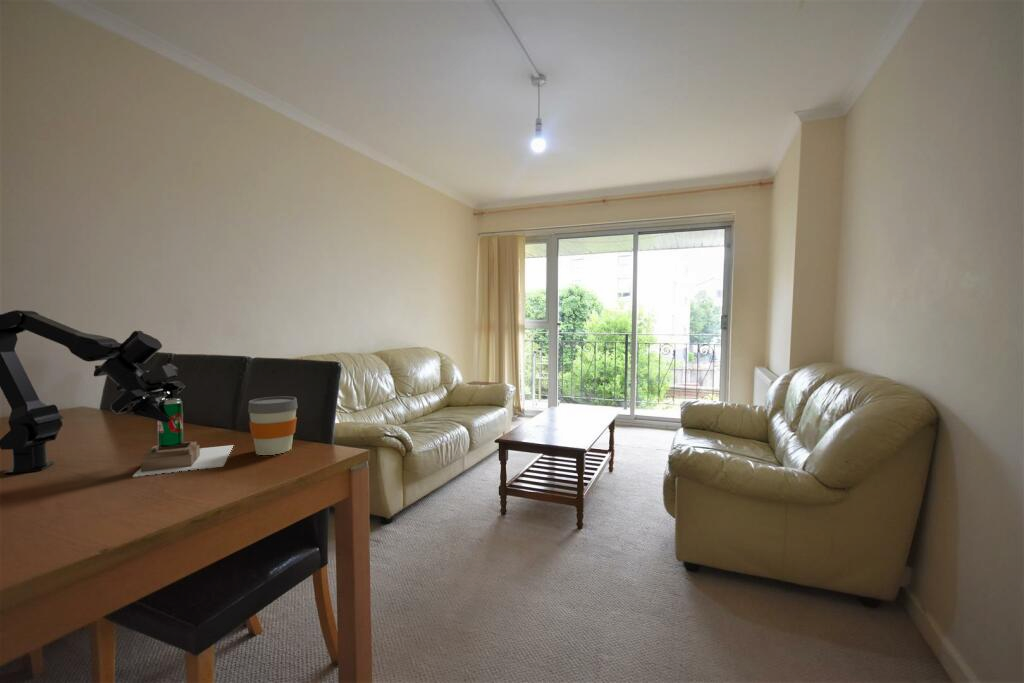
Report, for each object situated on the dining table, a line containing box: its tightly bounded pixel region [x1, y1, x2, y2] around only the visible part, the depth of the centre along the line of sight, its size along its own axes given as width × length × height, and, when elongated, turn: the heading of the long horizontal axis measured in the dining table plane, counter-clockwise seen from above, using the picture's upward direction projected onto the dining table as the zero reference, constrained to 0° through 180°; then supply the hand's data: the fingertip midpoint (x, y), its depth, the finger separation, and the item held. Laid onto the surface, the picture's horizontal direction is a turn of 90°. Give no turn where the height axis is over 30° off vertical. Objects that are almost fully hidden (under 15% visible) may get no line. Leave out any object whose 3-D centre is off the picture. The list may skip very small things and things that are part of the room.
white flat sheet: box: [132, 444, 235, 478], centre depth 114 cm, size 20×18×1 cm
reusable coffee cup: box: [247, 395, 298, 456], centre depth 122 cm, size 13×13×15 cm
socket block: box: [140, 440, 201, 472], centre depth 110 cm, size 10×10×5 cm
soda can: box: [157, 397, 184, 447], centre depth 110 cm, size 5×5×12 cm
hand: (176, 419), depth 110 cm, fingers closed on soda can, 5 cm apart
